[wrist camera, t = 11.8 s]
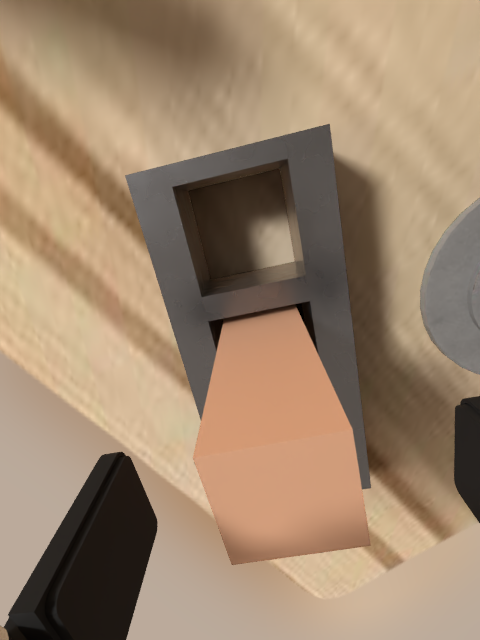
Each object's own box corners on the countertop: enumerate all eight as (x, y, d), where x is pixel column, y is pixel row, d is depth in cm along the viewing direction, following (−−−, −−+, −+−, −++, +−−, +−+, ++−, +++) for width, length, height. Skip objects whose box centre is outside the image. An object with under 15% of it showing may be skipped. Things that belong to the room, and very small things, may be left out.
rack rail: (311, 141, 17) (329, 123, 13) (351, 442, 24) (370, 488, 20) (151, 181, 18) (125, 175, 14) (231, 461, 25) (228, 508, 21)
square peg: (289, 291, 20) (352, 429, 8) (300, 349, 21) (370, 545, 9) (226, 306, 20) (192, 457, 8) (241, 361, 22) (232, 564, 9)
